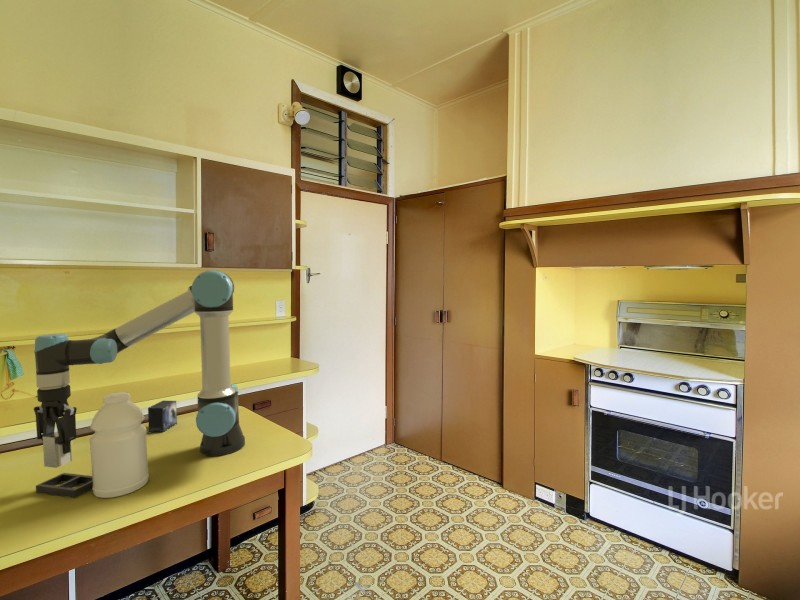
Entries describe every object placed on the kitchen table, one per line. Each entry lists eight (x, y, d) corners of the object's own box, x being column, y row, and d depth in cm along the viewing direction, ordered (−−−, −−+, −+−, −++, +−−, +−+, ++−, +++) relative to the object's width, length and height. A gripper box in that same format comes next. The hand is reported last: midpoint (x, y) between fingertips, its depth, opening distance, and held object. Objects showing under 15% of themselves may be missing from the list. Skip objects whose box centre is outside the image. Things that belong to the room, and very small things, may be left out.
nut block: (71, 461, 123) (70, 432, 122) (56, 467, 118) (54, 437, 118) (60, 459, 124) (58, 431, 123) (44, 466, 119) (42, 436, 119)
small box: (163, 432, 164) (162, 407, 164) (147, 433, 165) (146, 407, 164) (178, 423, 175) (177, 399, 175) (163, 423, 175) (162, 400, 175)
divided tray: (101, 484, 123) (101, 477, 123) (74, 498, 115) (74, 490, 115) (64, 479, 126) (64, 472, 126) (36, 492, 118) (35, 485, 118)
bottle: (86, 503, 112) (79, 404, 111) (100, 481, 125) (94, 392, 123) (145, 492, 118) (139, 397, 116) (152, 471, 130) (148, 386, 129)
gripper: (89, 384, 122) (93, 460, 123) (44, 381, 126) (49, 455, 127) (63, 391, 114) (68, 471, 115) (17, 388, 118) (21, 465, 119)
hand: (58, 462), depth 121 cm, fingers closed on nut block, 4 cm apart
